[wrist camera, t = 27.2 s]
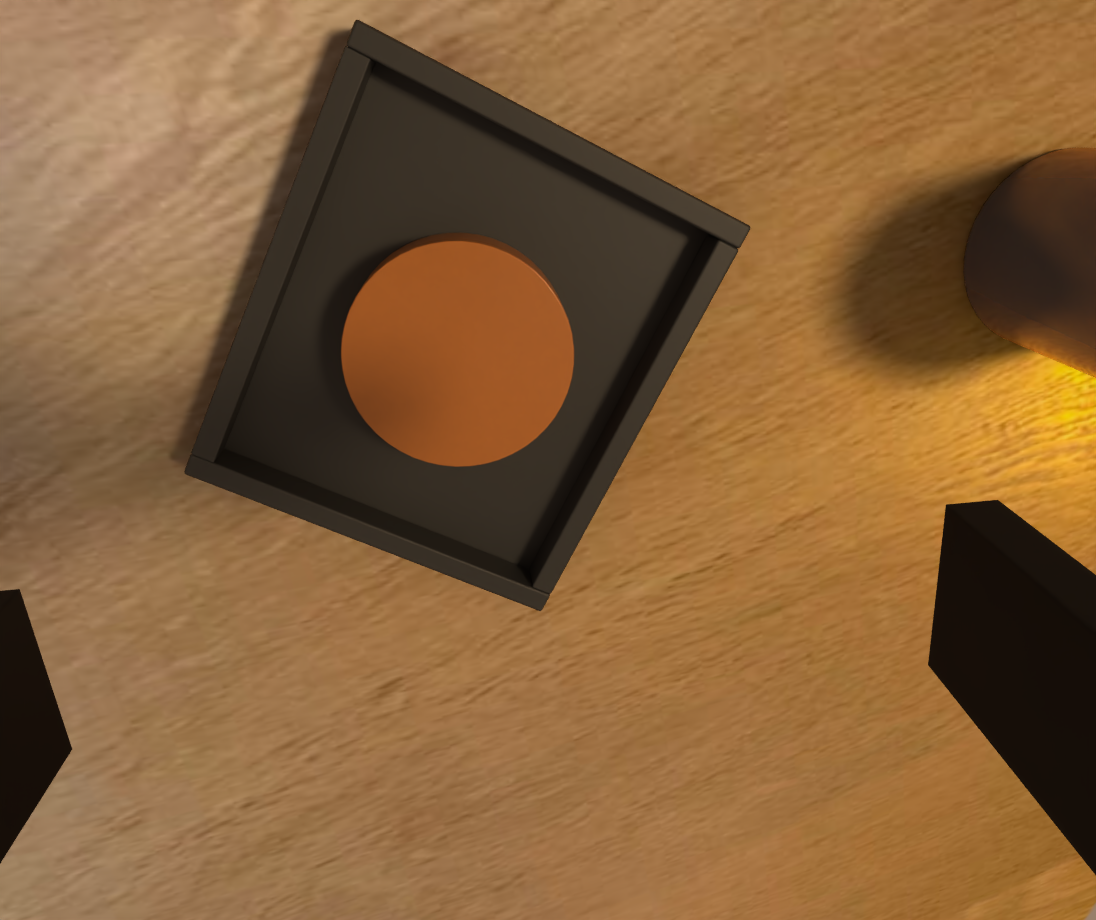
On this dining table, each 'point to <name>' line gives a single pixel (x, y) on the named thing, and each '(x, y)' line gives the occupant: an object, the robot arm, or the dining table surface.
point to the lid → (457, 350)
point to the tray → (476, 208)
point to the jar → (1040, 258)
